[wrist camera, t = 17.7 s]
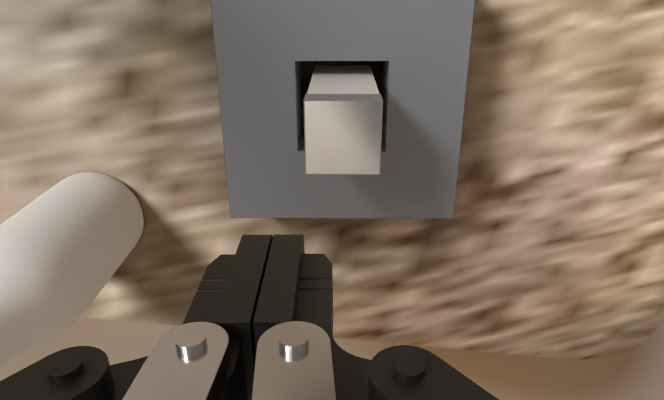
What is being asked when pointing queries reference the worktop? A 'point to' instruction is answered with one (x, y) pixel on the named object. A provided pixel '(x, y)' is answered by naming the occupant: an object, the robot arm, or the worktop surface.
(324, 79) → the plug
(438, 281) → the worktop surface
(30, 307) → the milk bottle
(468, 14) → the socket block
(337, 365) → the robot arm
